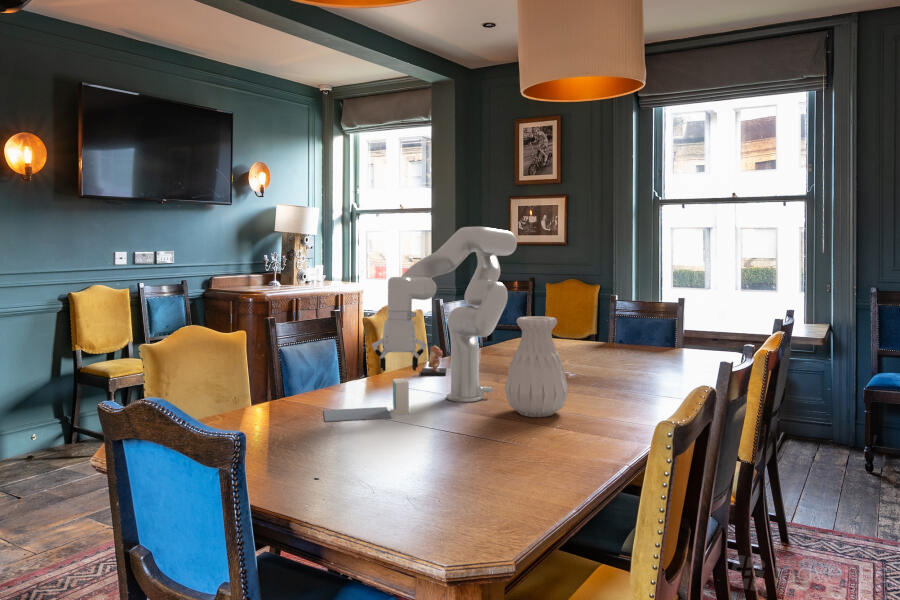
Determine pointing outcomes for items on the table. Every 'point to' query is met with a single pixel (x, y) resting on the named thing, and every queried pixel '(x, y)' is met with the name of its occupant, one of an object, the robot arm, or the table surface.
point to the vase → (536, 370)
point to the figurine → (434, 363)
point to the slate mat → (356, 414)
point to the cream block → (401, 396)
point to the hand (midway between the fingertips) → (399, 370)
